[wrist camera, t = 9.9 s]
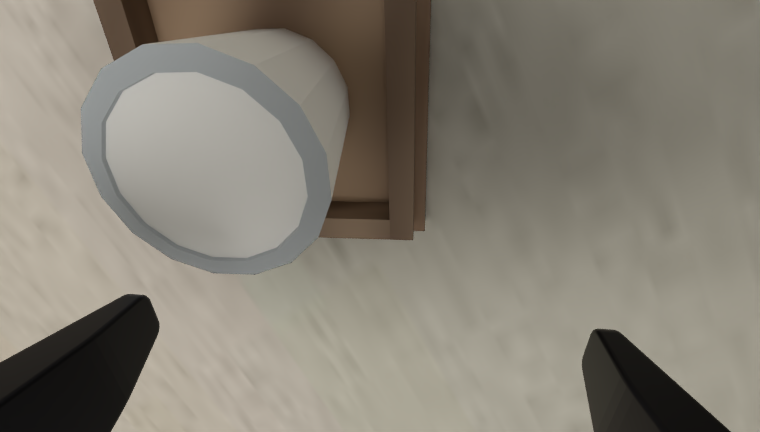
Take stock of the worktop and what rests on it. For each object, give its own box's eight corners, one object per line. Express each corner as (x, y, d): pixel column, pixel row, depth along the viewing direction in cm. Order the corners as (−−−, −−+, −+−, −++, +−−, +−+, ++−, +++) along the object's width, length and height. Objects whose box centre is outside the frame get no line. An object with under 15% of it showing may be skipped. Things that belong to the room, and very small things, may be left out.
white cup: (354, 190, 19) (320, 295, 13) (204, 162, 19) (103, 255, 13) (377, 27, 15) (344, 71, 10) (192, -7, 15) (44, 16, 10)
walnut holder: (433, -79, 14) (433, -85, 12) (425, 219, 21) (424, 249, 19) (106, -64, 16) (55, -67, 14) (191, 213, 22) (166, 241, 20)
